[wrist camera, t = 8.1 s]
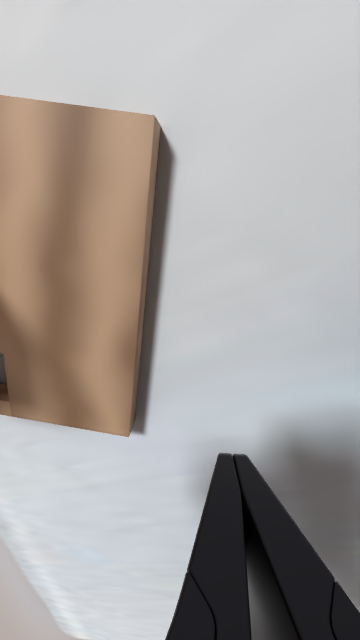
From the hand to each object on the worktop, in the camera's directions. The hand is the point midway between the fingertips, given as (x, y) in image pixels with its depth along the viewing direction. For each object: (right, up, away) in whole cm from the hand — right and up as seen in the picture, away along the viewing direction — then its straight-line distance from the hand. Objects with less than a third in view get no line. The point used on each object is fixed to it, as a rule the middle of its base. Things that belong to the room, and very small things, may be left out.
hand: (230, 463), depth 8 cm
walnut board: (-11, +7, +12) cm, 18 cm away
